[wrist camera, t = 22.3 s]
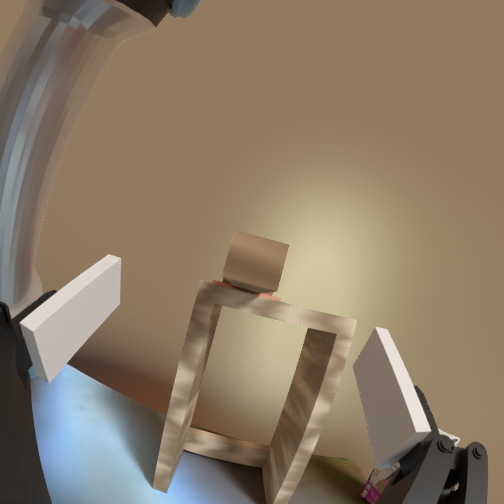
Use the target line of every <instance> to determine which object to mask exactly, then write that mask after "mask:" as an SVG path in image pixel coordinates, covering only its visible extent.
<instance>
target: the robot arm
mask: <svg viewBox="0 0 504 504" xmlns="http://www.w3.org/2000/svg"><path fill="white" fill-rule="evenodd" d="M199 2H200V0H23V7H22V11H21V13H20V15H19V17H18V18H17V20H16V22H15V24H14V26H13V27H12V29H11V31H10V33H9V35H8V37H7V39H6V41H5V43H4V45H3V48H2V50H1V52H0V504H52V502H51V499H50V496H49V492H48V489H47V485H46V482H45V478H44V474H43V470H42V466H41V461H40V457H39V452H38V446H37V441H36V435H35V428H34V421H33V412H32V402H31V389H30V380H31V379H34V378H35V377H36V376H38V377H40V378H42V379H43V380H45V381H46V382H48V383H49V384H50V382H51V381H52V380H53V379H54V377H55V376H56V375H57V374H58V373H59V371H60V370H61V369H62V368H63V367H64V366H65V364H66V363H67V362H68V361H69V360H70V358H71V357H72V356H73V355H74V354H75V353H76V352H77V350H78V349H79V348H80V347H81V346H82V345H83V344H84V342H85V341H86V340H87V339H88V338H89V337H90V336H91V335H92V333H93V332H94V331H95V330H96V329H97V328H98V327H99V326H100V325H101V324H102V323H103V321H104V320H105V319H106V318H107V317H108V316H109V315H110V314H111V313H112V312H113V311H114V309H116V307H117V306H118V305H119V304H120V275H121V258H118V257H115V256H112V255H107V256H106V257H104V258H103V259H102V260H100V261H99V262H97V263H96V264H95V265H93V266H92V267H91V268H89V269H88V270H86V271H85V272H84V273H82V274H81V275H79V276H78V277H77V278H75V279H74V280H73V281H71V282H70V283H69V284H67V285H66V286H65V287H63V288H62V289H61V290H60V291H56V290H53V291H50V292H47V293H44V292H42V284H41V280H40V278H39V275H38V273H37V272H36V270H35V269H34V264H35V258H36V253H37V247H38V242H39V237H40V233H41V228H42V224H43V220H44V216H45V212H46V208H47V204H48V200H49V197H50V194H51V190H52V187H53V184H54V181H55V178H56V175H57V172H58V169H59V166H60V163H61V160H62V158H63V155H64V152H65V150H66V147H67V145H68V142H69V140H70V137H71V135H72V133H73V130H74V128H75V126H76V123H77V121H78V119H79V117H80V115H81V112H82V110H83V108H84V106H85V104H86V102H87V100H88V98H89V96H90V94H91V92H92V91H93V88H94V86H95V85H96V83H97V81H98V79H99V78H100V76H101V74H102V72H103V71H104V69H105V67H106V65H107V64H108V62H109V61H110V59H111V57H112V55H113V54H114V53H115V51H116V50H117V48H118V47H119V45H121V44H122V43H123V42H124V41H126V40H128V39H131V38H134V37H137V36H140V35H144V34H147V33H151V32H153V30H154V29H155V28H156V27H157V25H158V24H159V23H160V22H161V20H162V19H163V18H164V17H165V15H166V14H167V13H170V15H171V16H174V17H181V18H185V17H188V16H189V15H190V14H191V13H192V11H193V10H194V9H195V7H196V6H197V5H198V4H199ZM353 369H354V373H355V377H356V381H357V385H358V389H359V393H360V398H361V402H362V406H363V410H364V415H365V420H366V424H367V429H368V433H369V439H370V444H371V449H372V454H373V459H374V465H375V469H383V468H391V467H392V466H393V465H394V464H396V463H397V462H398V461H399V464H400V467H399V468H398V469H397V470H396V471H394V472H393V473H392V474H390V475H389V476H388V477H387V478H386V479H385V480H388V479H389V478H391V477H392V478H391V479H390V481H389V483H388V484H387V486H386V487H385V489H384V490H383V492H382V494H381V495H380V497H379V498H378V499H377V501H376V502H375V504H487V489H488V459H487V458H488V457H487V451H486V449H485V448H484V446H483V445H482V444H480V443H478V442H473V443H471V444H470V445H468V446H467V447H466V448H465V449H464V448H459V447H455V444H454V442H453V441H452V439H450V438H449V437H448V436H446V435H444V434H440V433H439V430H438V428H437V425H436V423H435V421H434V418H433V415H432V413H431V411H430V408H429V406H428V404H427V401H426V399H425V396H424V394H423V393H422V391H421V390H420V389H419V388H418V387H417V386H413V384H412V382H411V379H410V377H409V375H408V372H407V370H406V368H405V366H404V364H403V362H402V359H401V357H400V355H399V353H398V351H397V349H396V346H395V344H394V342H393V340H392V338H391V336H390V334H389V332H388V330H387V329H383V328H378V327H375V328H374V330H373V332H372V334H371V335H370V337H369V339H368V341H367V343H366V345H365V346H364V348H363V350H362V351H361V353H360V355H359V356H358V358H357V360H356V361H355V363H354V365H353ZM458 483H459V486H458V489H457V490H456V491H455V485H457V484H458Z"/></svg>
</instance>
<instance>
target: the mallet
mask: <svg viewBox="0 0 504 504" xmlns="http://www.w3.org/2000/svg"><path fill="white" fill-rule="evenodd" d="M288 247H289V245H288V244H284V243H281V242H277V241H274V240H270V239H266V238H263V237H259V236H255V235H251V234H248V233H244V232H241V231H236V230H235V232H234V235H233V239H232V242H231V246H230V249H229V252H228V256H227V260H226V263H225V266H224V270H223V274H222V277H223V282H222V283H226V284H229V285H233V286H237V287H240V288H244V289H247V290H251V291H255V292H258V293H262V294H266V295H270V296H272V293H273V292H276V291H277V290H278V286H279V282H280V278H281V274H282V271H283V266H284V262H285V259H286V255H287V251H288Z"/></svg>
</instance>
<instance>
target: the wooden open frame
mask: <svg viewBox="0 0 504 504" xmlns="http://www.w3.org/2000/svg"><path fill="white" fill-rule="evenodd" d="M222 305H223V306H227V307H230V308H234V309H237V310H241V311H245V312H248V313H252V314H256V315H260V316H263V317H267V318H271V319H275V320H279V321H283V322H287V323H292V324H295V325H300V326H304V327H308V330H307V333H306V337H305V340H304V344H303V347H302V351H301V354H300V358H299V361H298V364H297V367H296V371H295V374H294V377H293V381H292V384H291V386H290V389H289V392H288V396H287V399H286V402H285V405H284V408H283V410H282V413H281V416H280V419H279V422H278V425H277V428H276V430H275V433H274V436H273V438H272V441H271V444H270V446H268V445H263V444H257V443H252V442H247V441H242V440H238V439H233V438H229V437H225V436H221V435H217V434H213V433H209V432H206V431H202V430H199V429H195V428H192V427H190V424H191V420H192V417H193V413H194V409H195V405H196V401H197V397H198V393H199V390H200V386H201V382H202V378H203V374H204V371H205V367H206V363H207V359H208V356H209V352H210V348H211V344H212V341H213V337H214V333H215V330H216V326H217V322H218V319H219V315H220V311H221V308H222ZM356 323H357V320H353V319H349V318H345V317H340V316H336V315H332V314H328V313H323V312H319V311H315V310H311V309H307V308H303V307H299V306H295V305H291V304H287V303H284V302H280V301H276V300H272V299H268V298H264V297H261V296H257V295H253V294H250V293H246V292H242V291H239V290H235V289H231V288H228V287H224V286H221V285H217V284H214V283H210V282H207V281H203V280H201V282H200V286H199V289H198V293H197V297H196V300H195V304H194V308H193V311H192V315H191V319H190V323H189V326H188V330H187V334H186V338H185V342H184V346H183V350H182V354H181V358H180V362H179V366H178V370H177V374H176V378H175V382H174V386H173V391H172V395H171V399H170V404H169V409H168V413H167V417H166V422H165V426H164V431H163V436H162V441H161V445H160V450H159V455H158V460H157V466H156V471H155V476H154V482H153V487H152V488H154V489H157V490H160V491H163V492H166V493H167V490H168V488H169V485H170V483H171V480H172V478H173V475H174V473H175V471H176V468H177V466H178V463H179V461H180V458H181V456H182V453H183V451H184V450H187V451H190V452H194V453H197V454H201V455H205V456H208V457H212V458H216V459H221V460H225V461H229V462H234V463H239V464H244V465H249V466H255V467H261V468H262V473H263V481H264V490H265V498H266V504H288V502H289V500H290V498H291V496H292V495H293V493H294V491H295V489H296V487H297V485H298V483H299V481H300V478H301V476H302V474H303V472H304V470H305V468H306V466H307V464H308V461H309V459H310V457H311V455H312V452H313V450H314V448H315V445H316V443H317V441H318V438H319V436H320V433H321V431H322V428H323V425H324V423H325V420H326V418H327V415H328V412H329V410H330V407H331V404H332V401H333V399H334V396H335V393H336V390H337V387H338V384H339V381H340V378H341V375H342V372H343V369H344V366H345V362H346V359H347V355H348V352H349V349H350V345H351V342H352V338H353V335H354V330H355V327H356Z"/></svg>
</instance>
